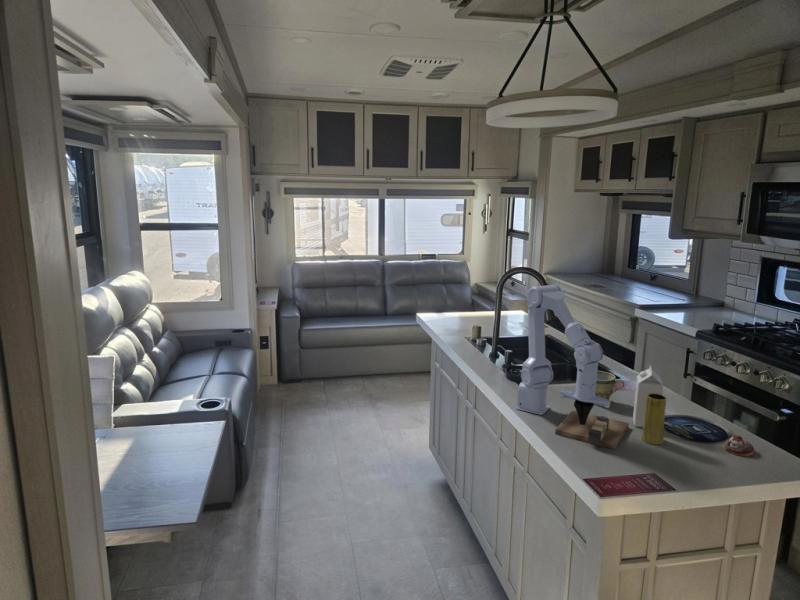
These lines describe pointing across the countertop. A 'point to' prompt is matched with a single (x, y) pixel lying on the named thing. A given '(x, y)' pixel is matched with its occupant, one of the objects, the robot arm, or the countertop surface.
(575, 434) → the wooden board
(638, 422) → the milk carton
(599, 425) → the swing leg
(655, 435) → the vase
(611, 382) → the ceramic cup
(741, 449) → the pastry
